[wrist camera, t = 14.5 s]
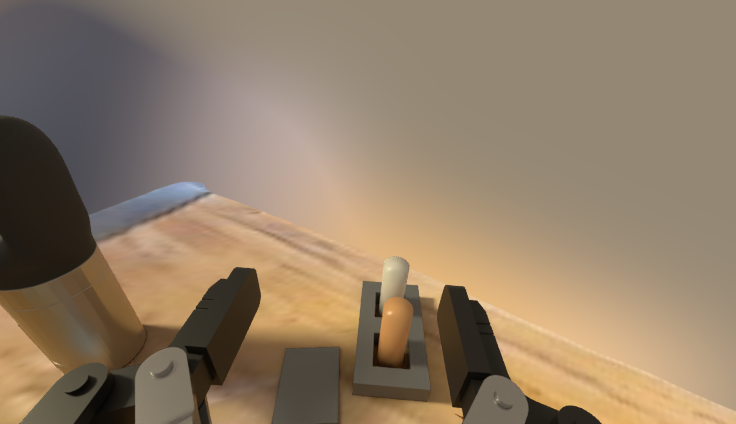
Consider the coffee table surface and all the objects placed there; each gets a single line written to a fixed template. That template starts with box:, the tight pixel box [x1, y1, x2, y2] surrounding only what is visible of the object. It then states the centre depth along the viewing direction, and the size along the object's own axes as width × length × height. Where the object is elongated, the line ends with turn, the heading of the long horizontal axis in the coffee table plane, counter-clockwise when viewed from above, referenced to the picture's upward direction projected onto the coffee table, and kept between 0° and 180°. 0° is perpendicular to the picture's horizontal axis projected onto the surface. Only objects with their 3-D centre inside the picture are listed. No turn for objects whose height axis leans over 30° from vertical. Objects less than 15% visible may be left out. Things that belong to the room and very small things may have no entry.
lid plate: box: [272, 347, 340, 424], centre depth 39 cm, size 8×10×1 cm
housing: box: [352, 257, 431, 402], centre depth 43 cm, size 10×18×12 cm, turn 177°
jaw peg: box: [377, 297, 413, 369], centre depth 39 cm, size 4×4×12 cm
